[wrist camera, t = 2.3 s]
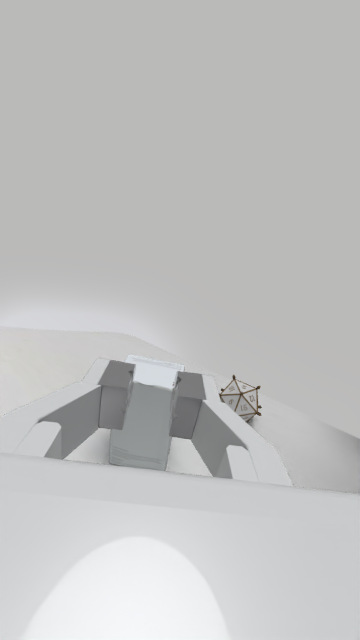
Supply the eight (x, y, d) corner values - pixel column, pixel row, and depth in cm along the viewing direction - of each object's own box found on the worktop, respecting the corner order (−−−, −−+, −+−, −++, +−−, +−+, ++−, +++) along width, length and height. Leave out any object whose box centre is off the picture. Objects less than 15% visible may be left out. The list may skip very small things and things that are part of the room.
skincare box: (170, 442, 35) (189, 364, 30) (163, 481, 30) (184, 392, 24) (120, 430, 36) (130, 350, 31) (103, 465, 30) (112, 374, 25)
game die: (219, 425, 46) (210, 376, 47) (260, 418, 45) (249, 369, 47) (226, 441, 37) (214, 380, 39) (276, 432, 37) (262, 371, 38)
